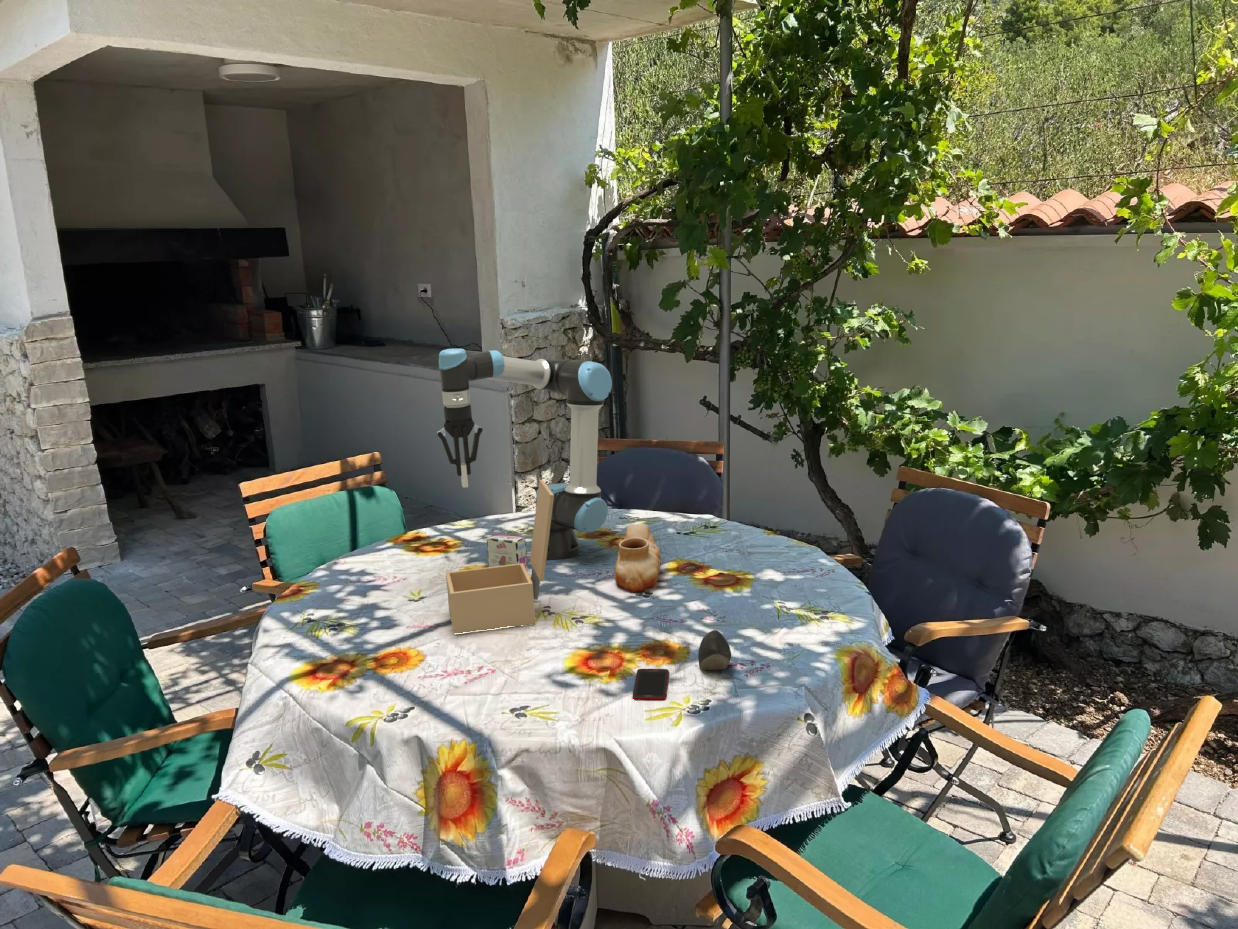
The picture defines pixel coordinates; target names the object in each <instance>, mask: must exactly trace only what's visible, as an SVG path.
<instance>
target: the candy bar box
mask: <svg viewBox="0 0 1238 929" xmlns="http://www.w3.org/2000/svg"><path fill="white" fill-rule="evenodd" d="M486 548H487V563H488V567H495V566H503V565H511V564H519V563H523V564H524V566H525V568H526V570H527V571H528V562H527V560H528V557H527V546H526V537H525V536H523V537H522V536H516V535H508V534H507V535H506V534H500V533H499V534H498V533H494V534H492V535H490V536H489V537H487V538H486Z"/></svg>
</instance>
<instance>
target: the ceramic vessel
mask: <svg viewBox="0 0 1238 929" xmlns="http://www.w3.org/2000/svg"><path fill="white" fill-rule="evenodd" d="M660 550H661V549H660V548H659V547H658V545H657V544H656V542H655V538H654V535H653V534H652V533H651V530H650V527H649V525H648V524H646V523H637V524H635V523H631V524H629V525H628V526H627V527H626V529H625V536H624V537H623V540H621V541H620V542H619V544H618V552H617V560H616V561H615V564H614V580H615V583H616V585H617V587H618V588H620V589H622V590H625V591H628V592H629V593H643V592H644V591H646V590H649V589H653V588H655V586H656V585H657V583H658V576H659V574H660V573H661V560H662V557H661V551H660ZM645 589H646V590H645Z"/></svg>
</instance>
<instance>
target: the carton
mask: <svg viewBox="0 0 1238 929" xmlns="http://www.w3.org/2000/svg"><path fill="white" fill-rule="evenodd" d="M445 580H446V590H447V600H448V601H447V602H448V612H450V614H449V617H451V618H450V621H451V622H452V623H451V622H450V623H451V627H452V626H453V628H452V631H454V632H453V634H454V633H463V632H470V631H476V630H487V629H495V628H500V627H507V626H521V625H529V626H531V625H530V624H535V625H536V613H535V600H534V595H533V583H532V581H531V576H530V574H529V573H528V569H527V570H526V568H525V566H524V564H523V563H519V564H511V565H503V566H495V567H489V566H488V567H479V568H472V569H471V568H470V569H464V570H455V571H448V572H445ZM521 627H522V626H521Z"/></svg>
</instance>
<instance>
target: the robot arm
mask: <svg viewBox="0 0 1238 929" xmlns="http://www.w3.org/2000/svg"><path fill="white" fill-rule="evenodd" d="M438 368H439V375H440V383H441V393H442V394H441V395H442V403H443V406H444V407H443V413H444V414H443V415H444V424H443V428H441V429H440V430H437V431H436V434H437V436H438V437H439V439H440V441H441V443H442V445H443V448H444V452H445V453H446V454H445V455H446V456H447V458H448V461H449V463H450V464H451V465H455V468H456V474H457V476H458V477H460V479H461V486H462V488H468V487H469V480H468V476H469V475H471V473H472V471H471V463H474V462H476V461H477V457H478V456H477V454H478V450H479V443H480V438H481V437H480V436H481V434H482V432H483V431H484V430H483V427H482V426H481V425H477V424H475V422H474V420H473V415H472V406H471V404H470V403H471V394H470V382H473V381H478V380H485V379H486V380H492V381H499V382H505V383H506V382H507V383H515V384H522V385H523V384H524V385H530V386H533V387H534V388H535V389H537V390H543V391H547V392H551V393H554V394H558V395H561V396H565V397H566V405H567V406H568V407H569V408H570V410H571V413H570V415H571V418H570V447H569V448H570V451H569V452H570V455H569V456H570V457H569V483H567V482H563V483H562V482H560V483H552V484H546V485H547V486H548V488H549V489H550V490H551V492H552V493H553V494H554V500H553V508H552V517H551V525H550V533H549V541H548V549H547V558H546V560H562V559H563V560H564V559H567V558H571V557H574V556H576V555H578V554H579V553H580V552H581V549H580V548H581V547H580V546H581V545H580V542H579V540H578V538H577V535H576V533H575V531H577V532H580V533H588V534H590V533H595V532H596V531H598V530H599V529H600V528H602V526H603V525H604V524H605V522H606V520H607V518H608V513H609V512H608V511H609V510H608V509H609V508H608V505H607V503H606V501H605V500H604V499H602V489H601V487H599V486H598V485H597V481H598V480H597V475H598V474H597V473H598V446H599V445H598V442H599V441H598V440H599V410H600V409H602V407H604V401H605V399H607V398H608V397H609V394H611V391H612V387H613V380H612V376H611V373H610V372H609V370H608V369H607V368H606V366H604V364H601V363H599V362H595V361H591V360H590V361H589V360H576V359H568V358H567V359H545V358H539V359H536V360H529V359H523V358H519V357H518V358H516V357H509V356H504V355H503V354H502V353H501V352H500V351H498V350H496V349H495V350H489V349H488V350H487V351H477V350H467V349H464V348H446V349H443V350H441V351H440V352H439V354H438ZM472 430H473V441H472V446H471V453H470V450H469V449H470V448H469V436H470V434H471V432H472ZM446 432H447V433H448V434H449V436H450V437H452V440H453V450H454V458H453V454H452V452H451V449H450V445H449V443H448V441H447V438H446V436H447V434H446ZM460 438H461V439H462V447H463V448H462V449H463V457H464V462H461V452H460V451H461V450H460ZM535 496H536V498H535V501H536V503H535V504H537V497H538V489H537V490H536V495H535Z"/></svg>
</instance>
